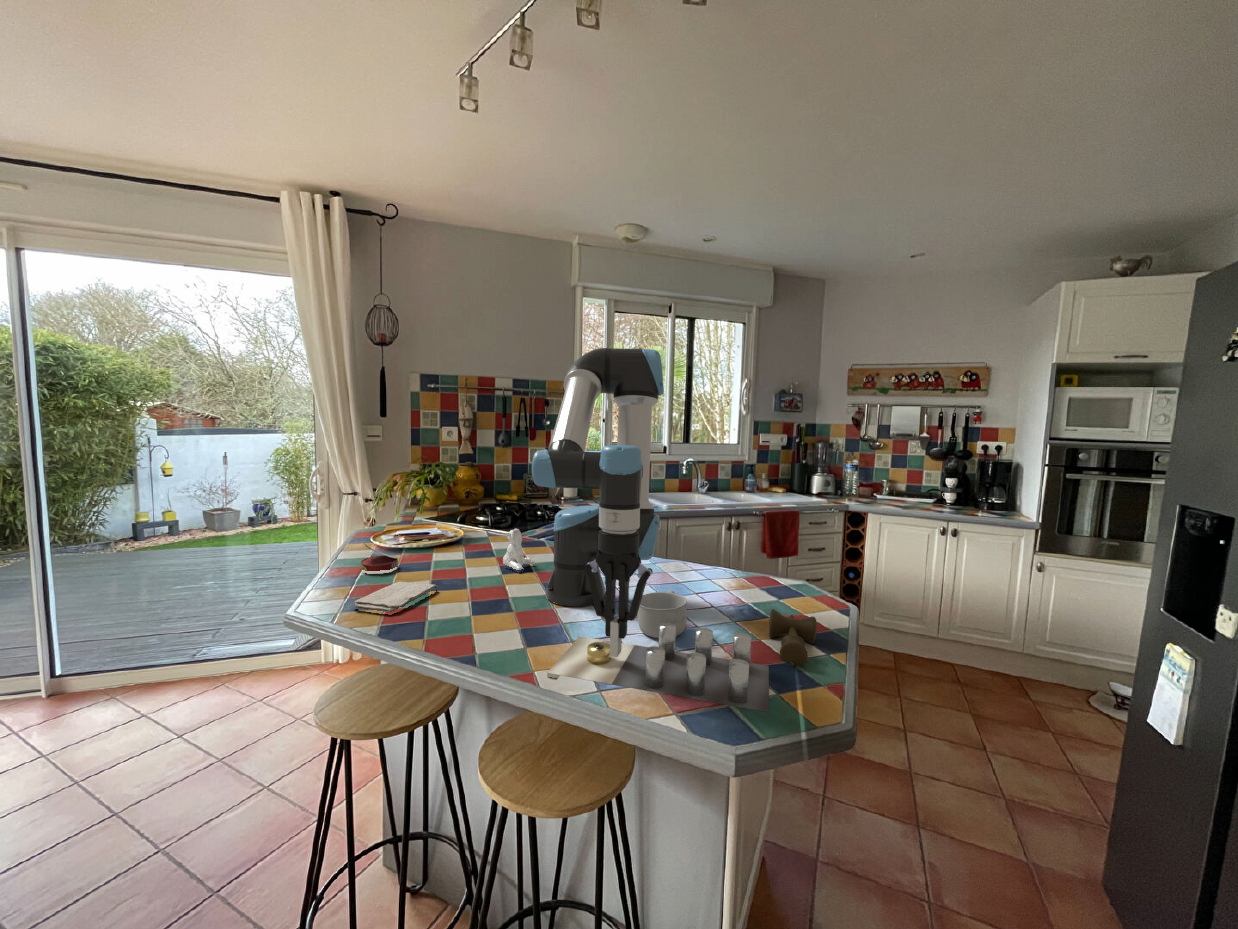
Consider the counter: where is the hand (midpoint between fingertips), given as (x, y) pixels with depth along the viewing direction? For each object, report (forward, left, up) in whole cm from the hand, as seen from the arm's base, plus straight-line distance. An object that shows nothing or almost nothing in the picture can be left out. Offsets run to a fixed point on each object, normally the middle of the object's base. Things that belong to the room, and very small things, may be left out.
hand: (615, 653), depth 95 cm
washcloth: (-61, +14, -3) cm, 62 cm away
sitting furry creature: (-46, +49, -3) cm, 68 cm away
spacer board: (+9, 0, -2) cm, 9 cm away
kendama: (+32, +21, -3) cm, 39 cm away
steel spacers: (+16, 0, -2) cm, 16 cm away
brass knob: (-3, 0, -2) cm, 4 cm away
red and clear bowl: (-82, +33, -3) cm, 89 cm away
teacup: (+6, +18, -3) cm, 19 cm away
